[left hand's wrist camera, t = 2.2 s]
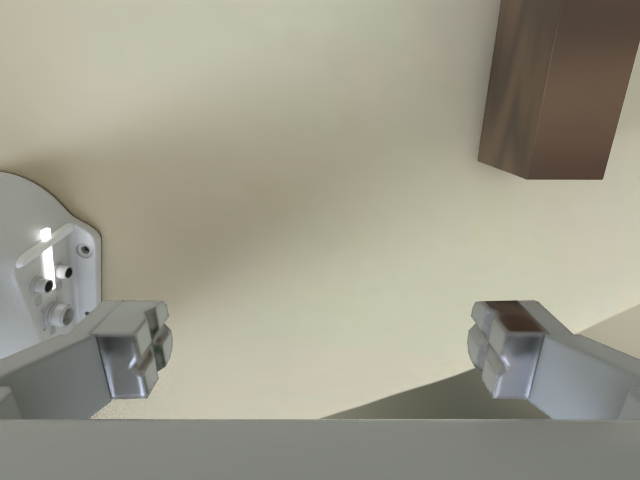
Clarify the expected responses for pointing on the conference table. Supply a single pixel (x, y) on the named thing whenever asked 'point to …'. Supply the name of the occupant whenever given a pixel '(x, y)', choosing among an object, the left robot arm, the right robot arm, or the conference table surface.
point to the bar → (558, 86)
